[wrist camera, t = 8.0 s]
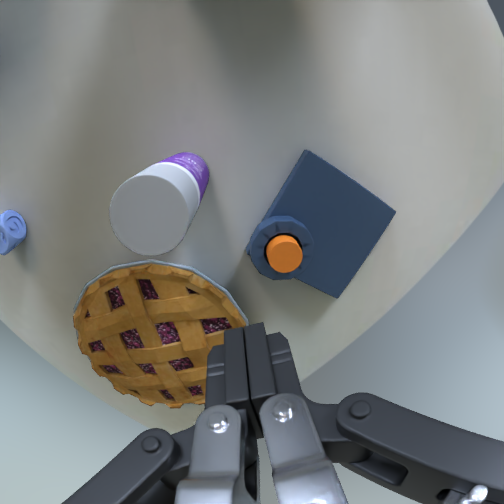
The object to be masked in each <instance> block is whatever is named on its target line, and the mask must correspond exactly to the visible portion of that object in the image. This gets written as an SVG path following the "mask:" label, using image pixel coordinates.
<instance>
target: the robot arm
mask: <svg viewBox="0 0 504 504" xmlns="http://www.w3.org/2000/svg"><path fill="white" fill-rule="evenodd" d="M206 376H207V377H206V392H205V410H204V411H203V412H202V413H201V414H200V415H199V416H198V418H197V420H196V424H195V425H193V426H192V427H190V428H188V429H186V430H183V431H180V432H178V433H175V434H172V435H170V434H169V433H168V432H167V431H165V430H163V429H159V428H154V429H149V430H146V431H144V432H142V433H141V434H140V435H138V436H137V437H136V438H135V439H134V440H133V441H132V442H131V443H130V444H129V445H128V446H127V447H126V448H124V449H123V451H121V452H120V453H119V454H118V455H117V456H116V457H115V458H114V459H112V460H111V461H110V462H109V463H108V464H107V465H106V466H105V467H104V468H102V469H101V470H100V471H99V472H98V473H97V474H96V475H95V476H93V477H92V478H91V479H90V480H89V481H88V482H87V483H85V484H84V485H83V486H82V487H81V488H80V489H78V490H77V491H76V492H75V493H74V494H73V495H71V496H70V497H69V498H68V499H67V500H65V501H64V502H63V503H62V504H261V503H260V470H259V455H258V448H257V439H259V438H264V437H265V441H266V445H267V450H268V454H269V458H270V462H271V466H272V477H273V482H274V486H275V490H276V494H277V498H278V502H279V504H348V501H347V499H346V496H345V494H344V491H343V489H342V486H341V483H340V481H339V478H338V476H337V473H336V471H335V468H334V466H333V464H332V463H340V464H341V465H342V466H344V467H346V468H348V469H349V470H351V471H353V472H355V473H357V474H359V475H361V476H363V477H365V478H367V479H369V480H371V481H373V482H375V483H377V484H379V485H381V486H383V487H385V488H387V489H389V490H392V491H394V492H396V493H398V494H401V495H403V496H405V497H408V498H410V499H412V500H415V501H417V502H419V503H422V504H504V442H503V441H499V440H496V439H493V438H489V437H486V436H483V435H480V434H476V433H473V432H470V431H467V430H464V429H461V428H458V427H455V426H452V425H449V424H446V423H444V422H441V421H438V420H436V419H433V418H430V417H427V416H425V415H422V414H419V413H417V412H414V411H412V410H409V409H406V408H404V407H401V406H399V405H397V404H394V403H392V402H389V401H387V400H385V399H382V398H379V397H377V396H375V395H373V394H369V393H355V394H352V395H349V396H347V397H345V398H344V399H343V400H342V401H341V402H340V403H339V404H319V403H315V402H313V401H311V400H309V399H308V398H306V396H305V395H304V394H303V393H302V390H301V387H300V383H299V379H298V375H297V372H296V368H295V364H294V361H293V357H292V354H291V350H290V346H289V343H288V339H286V338H285V337H284V336H283V335H282V334H281V333H280V332H278V333H274V334H269V335H266V332H265V328H264V324H263V322H262V323H257V324H253V325H248V326H244V328H243V327H239V328H234V329H229V330H224V344H221V345H216V346H213V347H212V349H211V351H210V352H209V354H208V356H207V372H206ZM263 433H264V434H263Z"/></svg>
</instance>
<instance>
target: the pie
mask: <svg viewBox="0 0 504 504" xmlns="http://www.w3.org/2000/svg"><path fill="white" fill-rule="evenodd" d="M73 321H74V328H75V329H76V334H77V338H78V346H79V348H80V350H81V352H82V354H85V355H87V357H88V358H89V360H90V362H91V364H92V369H93V370H94V371H95V372H96V373H97V374H98V375H99V376H100V377H101V376H103V377H106V378H107V379H108V380H109V381H110V382H111V383H112V384H113V387H114V389H115V390H117V391H118V392H120V393H121V394H123V395H124V394H131V395H133V396H135V397H137V398H138V399H139V400H140V401H141V402H142V403H145V404H147V405H149V406H152V405H154V404H155V403H156V402H157V403H163V404H166V405H167V406H169V407H170V408H180V407H181V406H182V405H183V404H185V403H194V404H198V405H201V404H205V392H206V377H207V376H206V372H207V356H208V354H209V352H210V351H211V349H212V347H213V346H216V345H221V344H224V330H229V329H234V328H239V327H243V328H244V326H248V325H249V321H248V319H247V318H246V316H245V315H244V313H243V312H242V310H241V309H240V308H239V306H238V305H237V303H236V302H235V300H234V299H233V298H232V296H231V295H230V293H229V292H228V290H227V289H225V288H224V287H222V286H220V285H219V284H217V283H216V282H214V281H213V280H211V279H210V278H209V277H207V276H206V275H204V274H203V273H201V272H200V271H198V270H197V269H195V268H194V267H191V266H185V265H180V264H175V263H170V262H164V261H159V260H154V259H148V260H142V261H137V262H131V263H126V264H121V265H115V266H112V267H110V268H109V269H107V270H106V271H104V272H103V273H101V274H100V275H98V276H97V277H95V278H94V279H92V280H91V281H89V282H88V283H86V284H85V286H84V288H83V290H82V292H81V294H80V296H79V298H78V301H77V303H76V305H75V307H74V316H73Z"/></svg>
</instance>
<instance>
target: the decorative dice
mask: <svg viewBox="0 0 504 504" xmlns="http://www.w3.org/2000/svg"><path fill="white" fill-rule="evenodd" d="M25 238H26V225H25V222H24V220H23V218H22V217H21V215H20V214H18V213H17V212H15V211H13V210H7V211H5V212H4V213H2V214H1V215H0V254H1V255H6V254H7V253H9V252H10V251H11V250H13V249H14V248H15V247H16V246H17V245H18V244H20V243H21V242H22V241H23V240H24V239H25Z"/></svg>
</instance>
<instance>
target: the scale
mask: <svg viewBox="0 0 504 504" xmlns="http://www.w3.org/2000/svg"><path fill="white" fill-rule="evenodd" d="M395 213H396V211H395V210H393V209H392V208H391V207H390V206H388V205H387V204H386V203H384V202H383V201H382V200H380V199H379V198H378V197H376V196H375V195H374V194H372V193H371V192H369V191H368V190H367V189H365V188H364V187H363V186H361V185H360V184H358V183H357V182H356V181H354V180H353V179H351V178H350V177H348V176H347V175H345V174H344V173H343V172H341V171H340V170H338V169H337V168H335V167H334V166H332V165H331V164H329V163H328V162H326V161H325V160H323V159H322V158H320V157H318V156H317V155H315V154H314V153H312V152H311V151H308V150H304V152H303V153H302V155H301V157H300V158H299V160H298V162H297V163H296V165H295V167H294V168H293V170H292V172H291V173H290V175H289V177H288V178H287V180H286V182H285V183H284V185H283V187H282V188H281V190H280V192H279V193H278V195H277V197H276V198H275V200H274V202H273V203H272V205H271V207H270V208H269V210H268V212H267V213H266V215H265V217H264V218H263V220H262V222H261V223H260V224H259V225H258V226H257V227H256V229H255V231H254V232H253V234H252V236H251V237H250V242H249V243H248V245H247V247H246V252H247V255H249V256H251V260H252V262H253V264H254V265H255V267H256V268H257V270H258V271H259V273H260V274H262V275H264V276H266V277H268V278H270V279H273V280H286V279H292V278H296V279H298V280H300V281H302V282H304V283H306V284H308V285H310V286H312V287H314V288H316V289H318V290H320V291H322V292H324V293H326V294H329V295H331V296H333V297H335V298H338V297H339V296H340V295H341V293H342V292H343V290H344V289H345V288H346V286H347V285H348V284H349V282H350V281H351V279H352V278H353V276H354V275H355V274H356V272H357V271H358V269H359V268H360V267H361V265H362V264H363V262H364V261H365V259H366V258H367V256H368V255H369V253H370V252H371V250H372V249H373V247H374V246H375V244H376V243H377V241H378V240H379V238H380V237H381V235H382V234H383V232H384V231H385V229H386V227H387V226H388V224H389V223H390V221H391V220H392V218H393V216H394V215H395ZM279 235H289V236H291V237H293V238H294V239H295V240H296V241H297V243H298V244H299V246H300V248H301V250H302V253H303V257H302V261H301V263H300V265H299V266H298V267H297V268H296V269H295V270H293V271H291V272H287V273H281V272H278V271H276V270H274V269H273V268H272V267H271V266H270V264H269V261H268V257H267V254H266V249H267V245H268V243H269V242H270V241H271V240H272V239H273V238H274V237H276V236H279Z"/></svg>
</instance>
